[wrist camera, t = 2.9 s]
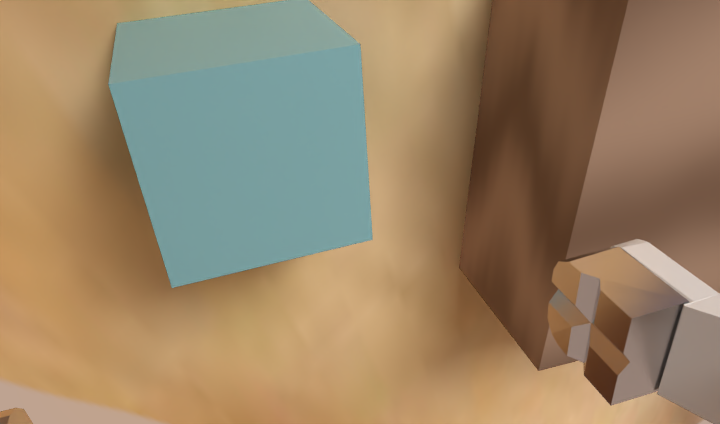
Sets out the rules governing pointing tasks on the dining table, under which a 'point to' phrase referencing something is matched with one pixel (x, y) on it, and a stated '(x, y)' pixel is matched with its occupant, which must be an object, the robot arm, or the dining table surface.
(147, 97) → the teal cube
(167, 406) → the dining table surface
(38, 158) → the dining table surface
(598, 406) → the dining table surface
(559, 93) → the walnut block
